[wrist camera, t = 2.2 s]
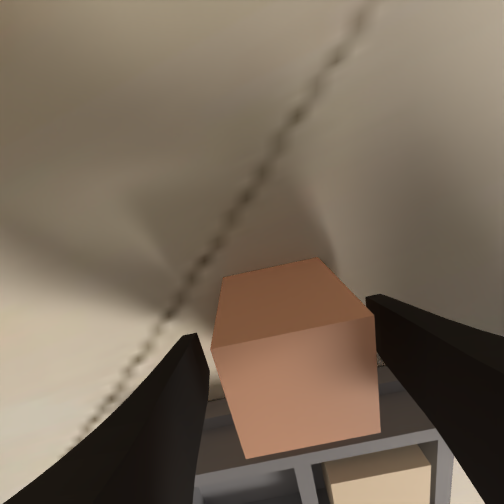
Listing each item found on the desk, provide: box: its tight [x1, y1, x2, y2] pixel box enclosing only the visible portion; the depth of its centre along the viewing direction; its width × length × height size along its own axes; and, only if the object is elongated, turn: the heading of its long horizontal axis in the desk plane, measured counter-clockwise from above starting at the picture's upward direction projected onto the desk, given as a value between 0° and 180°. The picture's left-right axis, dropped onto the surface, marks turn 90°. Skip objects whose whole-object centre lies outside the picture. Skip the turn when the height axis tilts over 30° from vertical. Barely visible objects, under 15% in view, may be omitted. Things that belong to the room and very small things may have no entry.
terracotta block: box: [210, 257, 381, 459], centre depth 10 cm, size 5×5×5 cm
